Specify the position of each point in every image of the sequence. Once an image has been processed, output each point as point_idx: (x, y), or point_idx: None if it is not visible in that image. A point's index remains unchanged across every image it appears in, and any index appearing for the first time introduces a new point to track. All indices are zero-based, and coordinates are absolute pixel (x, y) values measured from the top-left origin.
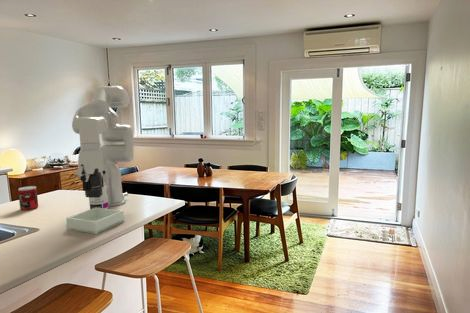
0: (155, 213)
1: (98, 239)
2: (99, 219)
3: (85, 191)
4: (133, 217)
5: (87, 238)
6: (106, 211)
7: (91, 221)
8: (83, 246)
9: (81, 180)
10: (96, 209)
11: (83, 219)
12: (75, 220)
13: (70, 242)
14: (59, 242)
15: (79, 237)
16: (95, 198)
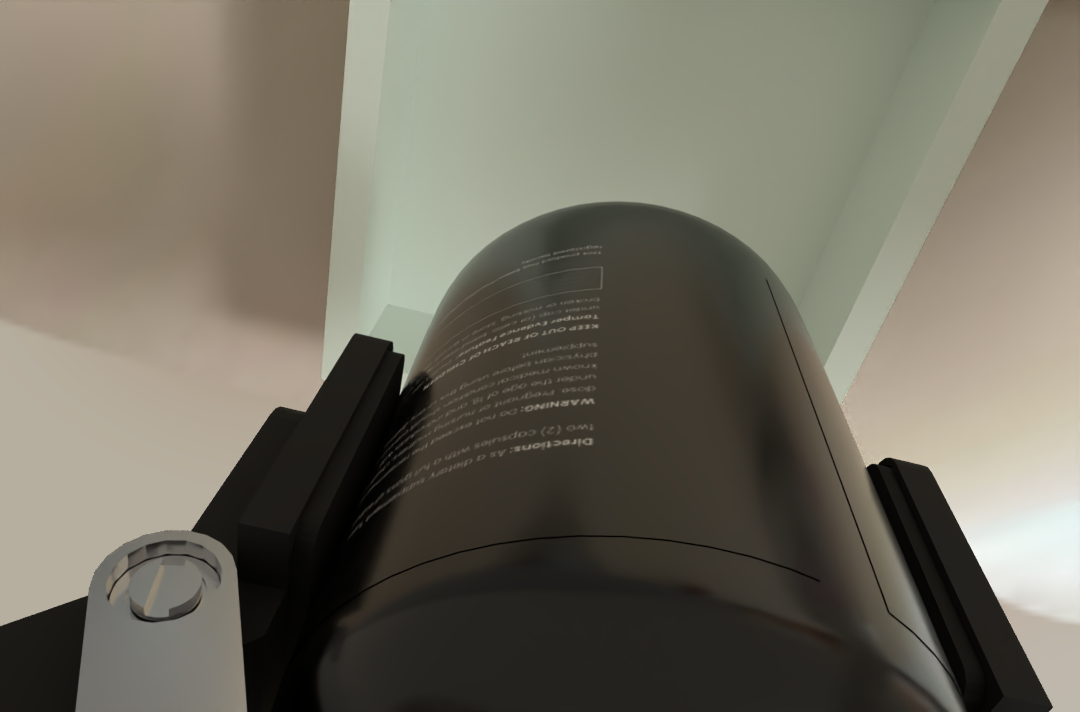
0: (1047, 598)
1: (264, 385)
2: (787, 118)
3: (430, 333)
4: (926, 443)
5: (249, 276)
6: (875, 230)
7: (331, 317)
8: (95, 341)
9: (79, 605)
10: (984, 13)
11: (372, 166)
12: (352, 26)
13: (107, 167)
14: (55, 41)
15: (243, 178)
16: None
